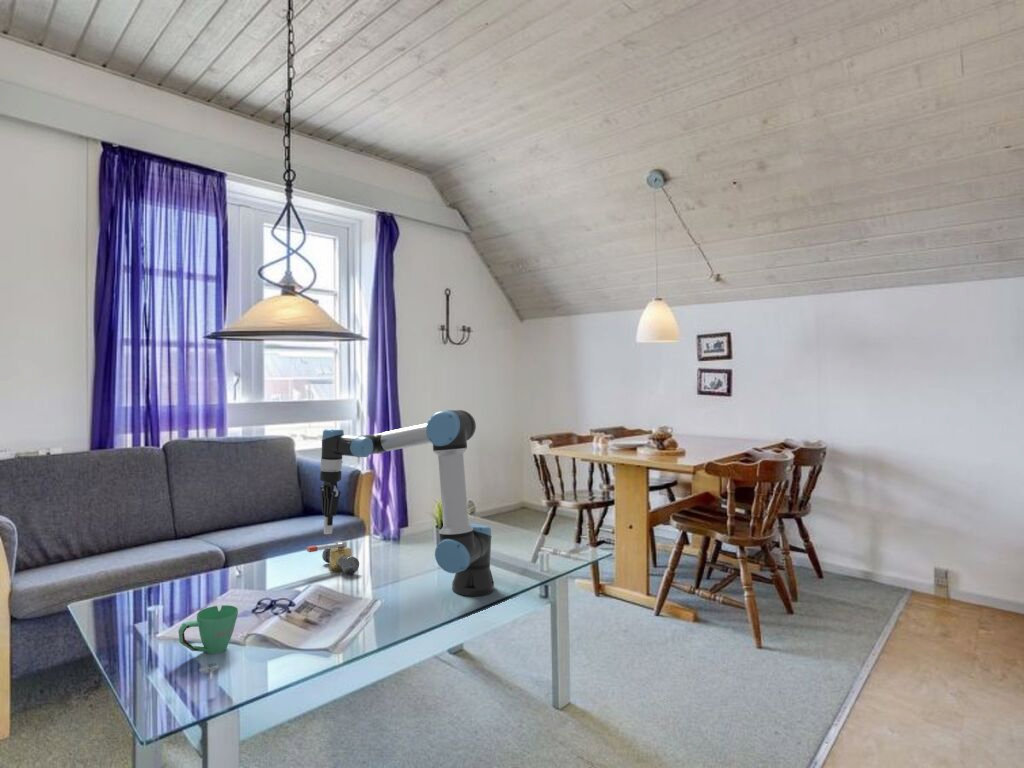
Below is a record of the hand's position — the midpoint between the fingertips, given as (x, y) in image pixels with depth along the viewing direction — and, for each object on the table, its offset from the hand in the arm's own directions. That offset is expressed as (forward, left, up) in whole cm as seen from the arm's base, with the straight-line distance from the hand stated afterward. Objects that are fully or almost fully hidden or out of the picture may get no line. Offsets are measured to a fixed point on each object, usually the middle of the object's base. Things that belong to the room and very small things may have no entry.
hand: (327, 533), depth 214 cm
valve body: (+7, -9, -17) cm, 20 cm away
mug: (-41, +49, -17) cm, 66 cm away
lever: (+7, -3, -8) cm, 11 cm away
